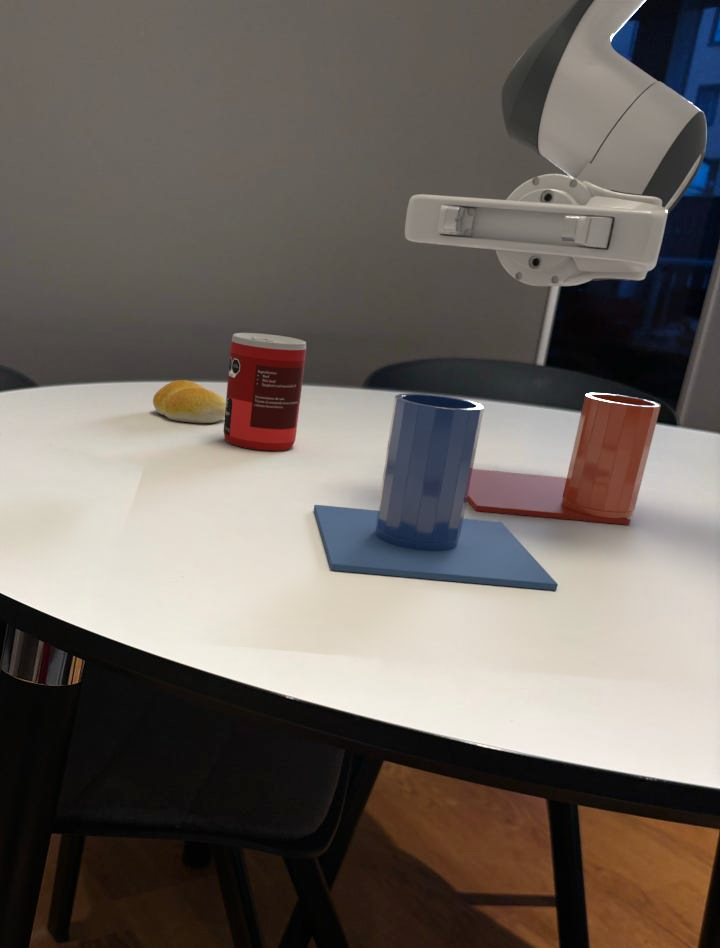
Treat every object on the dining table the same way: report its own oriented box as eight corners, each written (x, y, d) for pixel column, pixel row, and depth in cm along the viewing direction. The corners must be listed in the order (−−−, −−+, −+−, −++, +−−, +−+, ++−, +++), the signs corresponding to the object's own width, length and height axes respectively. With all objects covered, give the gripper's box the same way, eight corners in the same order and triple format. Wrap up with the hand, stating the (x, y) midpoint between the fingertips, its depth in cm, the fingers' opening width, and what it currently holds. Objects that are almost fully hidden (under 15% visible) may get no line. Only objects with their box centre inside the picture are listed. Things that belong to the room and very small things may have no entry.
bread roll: (178, 425, 114) (181, 389, 113) (143, 409, 121) (145, 375, 120) (240, 424, 118) (244, 389, 117) (203, 409, 125) (205, 376, 124)
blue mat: (500, 527, 86) (501, 521, 86) (556, 590, 71) (558, 584, 71) (313, 510, 85) (314, 504, 85) (330, 570, 70) (331, 563, 70)
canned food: (244, 432, 114) (254, 331, 110) (307, 445, 111) (320, 341, 106) (208, 441, 108) (217, 334, 104) (274, 455, 104) (286, 345, 100)
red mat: (573, 483, 106) (574, 478, 106) (628, 525, 91) (630, 519, 91) (441, 470, 105) (442, 465, 105) (475, 510, 91) (476, 505, 90)
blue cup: (451, 530, 81) (475, 399, 77) (463, 554, 75) (490, 413, 72) (371, 522, 81) (391, 390, 77) (378, 545, 76) (400, 403, 72)
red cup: (619, 503, 97) (645, 397, 93) (643, 521, 91) (671, 409, 87) (553, 496, 97) (576, 390, 93) (572, 514, 91) (598, 401, 87)
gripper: (439, 183, 90) (383, 168, 78) (683, 199, 81) (660, 185, 70) (428, 259, 92) (372, 255, 81) (664, 282, 84) (639, 282, 72)
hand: (508, 223), depth 75 cm, fingers open, 8 cm apart
